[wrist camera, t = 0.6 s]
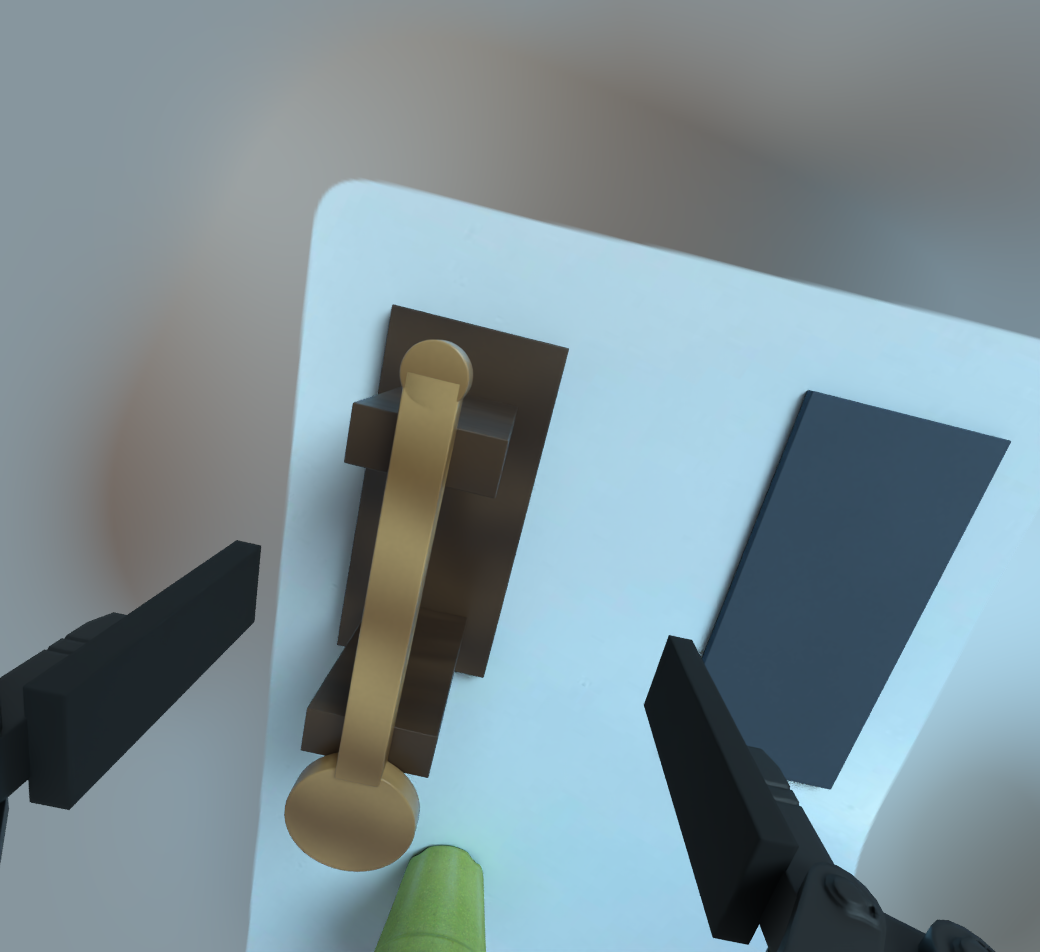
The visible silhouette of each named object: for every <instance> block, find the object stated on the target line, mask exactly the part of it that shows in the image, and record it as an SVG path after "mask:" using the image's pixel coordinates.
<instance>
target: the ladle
mask: <svg viewBox="0 0 1040 952" xmlns="http://www.w3.org/2000/svg"><path fill="white" fill-rule="evenodd" d="M472 381H473V368H472V364H471V362H470V359H469V358H468V356H467V354H466V353H465V352H464V351H463V350H462V349H461V348H460V347H459V346H457V345H456V344H454V343H452V342H449V341H446V340H425V341H422V342H419V343H417V344H415V345H414V346H413V347H411V348H410V349H409V350H408V351H407V353H406V354H405V356H404V357H403V360H402V362H401V366H400V382H401V385H402V388H403V389H402V394H401V400H400V406H399V411H398V417H397V423H396V428H395V434H394V440H393V445H392V451H391V457H390V463H389V468H388V474H387V480H386V485H385V491H384V497H383V502H382V508H381V514H380V519H379V525H378V531H377V537H376V542H375V548H374V554H373V559H372V565H371V571H370V576H369V582H368V588H367V593H366V599H365V605H364V611H363V616H362V622H361V628H360V633H359V639H358V645H357V650H356V656H355V662H354V667H353V673H352V679H351V684H350V690H349V696H348V702H347V707H346V713H345V719H344V724H343V730H342V736H341V741H340V747H339V753H333V754H329V755H326V756H324V757H321V758H319V759H317V760H316V761H314V762H312V763H311V764H310V765H309V766H307V767H306V768H305V769H304V770H303V772H302V773H301V774H300V776H299V777H298V779H297V781H296V783H295V784H294V786H293V788H292V790H291V792H290V794H289V796H288V798H287V800H286V805H285V814H284V816H285V823H286V827H287V829H288V832H289V834H290V836H291V837H292V839H293V841H294V842H295V843H296V844H297V846H298V847H299V848H300V849H301V850H302V851H303V852H304V853H306V854H307V855H308V856H310V857H311V858H313V859H314V860H316V861H318V862H320V863H322V864H324V865H326V866H329V867H332V868H335V869H339V870H345V871H355V872H360V871H371V870H376V869H379V868H382V867H385V866H388V865H389V864H391V863H393V862H395V861H396V860H397V859H399V858H400V857H401V856H402V855H403V854H404V853H405V852H406V851H407V849H408V848H409V847H410V845H411V843H412V841H413V838H414V835H415V831H416V827H417V823H418V818H419V812H420V804H419V799H418V795H417V792H416V790H415V788H414V786H413V784H412V783H411V781H410V780H409V778H408V777H407V776H406V775H405V774H404V773H403V772H402V771H401V770H400V769H398V768H397V767H396V766H394V765H393V764H391V763H390V762H388V761H387V760H388V755H389V750H390V746H391V741H392V736H393V731H394V727H395V722H396V717H397V712H398V707H399V703H400V698H401V693H402V688H403V684H404V679H405V674H406V669H407V664H408V660H409V655H410V650H411V645H412V641H413V636H414V631H415V626H416V622H417V617H418V612H419V607H420V602H421V598H422V593H423V588H424V583H425V579H426V574H427V569H428V564H429V560H430V555H431V550H432V545H433V540H434V536H435V531H436V526H437V521H438V517H439V512H440V507H441V502H442V497H443V493H444V488H445V483H446V478H447V474H448V469H449V464H450V459H451V455H452V450H453V445H454V440H455V435H456V431H457V426H458V421H459V416H460V412H461V407H462V402H463V398H464V397H465V396H466V395H467V393H468V392H469V390H470V388H471V385H472Z"/></svg>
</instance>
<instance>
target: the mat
mask: <svg viewBox="0 0 1040 952" xmlns="http://www.w3.org/2000/svg"><path fill="white" fill-rule="evenodd" d="M1010 443H1011V441H1009V440H1005V439H1001V438H997V437H993V436H989V435H985V434H982V433H978V432H974V431H970V430H966V429H962V428H958V427H954V426H950V425H946V424H942V423H938V422H934V421H930V420H926V419H922V418H918V417H914V416H910V415H906V414H902V413H898V412H894V411H890V410H886V409H882V408H879V407H875V406H871V405H867V404H863V403H859V402H855V401H851V400H847V399H843V398H839V397H835V396H831V395H827V394H823V393H819V392H815V391H810V390H808V391H807V393H806V396H805V399H804V401H803V404H802V406H801V409H800V411H799V414H798V416H797V419H796V421H795V424H794V426H793V429H792V431H791V434H790V437H789V439H788V442H787V444H786V447H785V449H784V452H783V454H782V457H781V459H780V462H779V464H778V467H777V470H776V472H775V475H774V477H773V480H772V482H771V485H770V487H769V490H768V492H767V495H766V497H765V500H764V502H763V505H762V508H761V510H760V513H759V515H758V518H757V520H756V523H755V525H754V528H753V530H752V533H751V535H750V538H749V540H748V543H747V546H746V548H745V551H744V553H743V556H742V558H741V561H740V563H739V566H738V568H737V571H736V573H735V576H734V578H733V581H732V584H731V586H730V589H729V591H728V594H727V596H726V599H725V601H724V604H723V606H722V609H721V611H720V614H719V616H718V619H717V622H716V624H715V627H714V629H713V632H712V634H711V637H710V639H709V642H708V644H707V647H706V649H705V652H704V655H703V657H702V660H703V662H704V664H705V666H706V668H707V670H708V672H709V674H710V676H711V678H712V680H713V681H714V683H715V685H716V687H717V689H718V691H719V693H720V695H721V697H722V699H723V701H724V703H725V705H726V706H727V708H728V710H729V712H730V714H731V716H732V718H733V720H734V722H735V724H736V726H737V728H738V730H739V732H740V733H741V735H742V737H743V739H744V741H745V743H746V745H747V746H751V747H756V748H761V749H763V750H764V752H765V753H766V754H767V755H768V756H769V757H770V758H771V759H772V760H773V761H774V762H775V763H776V764H777V765H778V767H779V768H780V770H781V771H782V773H783V775H784V777H785V778H786V780H790V781H794V782H799V783H803V784H808V785H812V786H817V787H821V788H826V789H831V788H832V786H833V784H834V782H835V780H836V778H837V776H838V775H839V773H840V771H841V769H842V767H843V765H844V763H845V761H846V759H847V757H848V755H849V753H850V751H851V749H852V748H853V746H854V744H855V742H856V740H857V738H858V736H859V734H860V732H861V730H862V728H863V726H864V724H865V723H866V721H867V719H868V717H869V715H870V713H871V711H872V709H873V707H874V705H875V703H876V701H877V699H878V697H879V696H880V694H881V692H882V690H883V688H884V686H885V684H886V682H887V680H888V678H889V676H890V674H891V672H892V670H893V669H894V667H895V665H896V663H897V661H898V659H899V657H900V655H901V653H902V651H903V649H904V647H905V645H906V643H907V642H908V640H909V638H910V636H911V634H912V632H913V630H914V628H915V626H916V624H917V622H918V620H919V618H920V616H921V615H922V613H923V611H924V609H925V607H926V605H927V603H928V601H929V599H930V597H931V595H932V593H933V591H934V589H935V588H936V586H937V584H938V582H939V580H940V578H941V576H942V574H943V572H944V570H945V568H946V566H947V564H948V563H949V561H950V559H951V557H952V555H953V553H954V551H955V549H956V547H957V545H958V543H959V541H960V539H961V537H962V536H963V534H964V532H965V530H966V528H967V526H968V524H969V522H970V520H971V518H972V516H973V514H974V512H975V510H976V509H977V507H978V505H979V503H980V501H981V499H982V497H983V495H984V493H985V491H986V489H987V487H988V485H989V483H990V482H991V480H992V478H993V476H994V474H995V472H996V470H997V468H998V466H999V464H1000V462H1001V460H1002V458H1003V456H1004V455H1005V453H1006V451H1007V449H1008V447H1009V445H1010Z"/></svg>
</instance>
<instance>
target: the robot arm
mask: <svg viewBox="0 0 1040 952" xmlns="http://www.w3.org/2000/svg"><path fill="white" fill-rule="evenodd" d="M260 552H261V546H260V545H255V544H251V543H247V542H242V541H238V540H237V541H235V542H233V543H232V544H230V545H229V546H228V547H226V548H225V549H224V550H222V551H220V552H219V553H217V554H216V555H214V556H213V557H212V558H210V559H209V560H207V561H206V562H204V563H203V564H201V565H200V566H198V567H197V568H195V569H194V570H192V571H191V572H190V573H188V574H187V575H185V576H184V577H182V578H181V579H179V580H178V581H176V582H175V583H173V584H172V585H170V586H169V587H168V588H166V589H165V590H163V591H162V592H160V593H159V594H157V595H156V596H154V597H153V598H152V599H150V600H148V601H147V602H146V603H144V604H143V605H141V606H140V607H138V608H137V609H135V610H134V611H132V612H131V613H129V614H128V615H124V614H119V613H114V612H113V613H111V614H108V615H105V616H103V617H100V618H97V619H95V620H92V621H89V622H87V623H85V624H84V625H82V626H80V627H79V628H78V629H76V630H74V631H73V632H71V633H70V634H68V635H67V636H66V637H65V639H63V638H62V639H60V640H59V641H57V642H56V643H54V644H52V645H51V646H49V648H48V649H47V650H43V651H42V652H40V653H38V654H37V655H35V656H33V657H32V658H30V659H29V660H27V661H26V662H24V663H23V664H21V665H19V666H18V667H16V668H15V669H13V670H12V671H10V672H9V673H7V674H5V675H4V676H2V677H1V678H0V862H1V855H2V849H3V843H4V836H5V830H6V823H7V817H8V811H9V806H8V797H9V796H10V795H11V794H12V793H13V792H14V791H15V790H17V789H18V788H19V787H20V786H21V785H22V784H23V783H24V782H26V781H27V780H28V781H29V798H30V802H31V803H36V804H42V805H47V806H52V807H57V808H62V809H67V810H70V809H71V808H72V807H73V806H74V804H76V803H77V801H78V800H79V799H80V798H81V797H82V796H83V795H84V794H85V793H86V792H87V791H88V790H89V789H90V788H91V787H92V786H93V785H94V784H95V783H96V782H97V781H98V780H99V779H100V778H101V777H102V776H103V775H104V774H105V773H106V772H107V771H108V770H109V769H110V768H111V767H112V766H113V765H114V764H115V763H116V762H117V761H118V760H119V759H120V758H121V757H122V756H123V755H124V754H125V753H126V752H127V750H128V749H130V748H131V747H132V746H133V745H134V744H135V743H136V741H138V739H139V738H140V737H141V736H142V735H143V734H144V733H145V732H146V731H147V730H148V729H149V728H150V727H151V726H152V725H153V724H154V723H155V722H156V721H157V720H158V719H159V718H160V717H161V716H162V715H163V714H164V713H165V712H166V711H167V710H168V709H169V708H170V707H171V706H172V705H173V704H174V703H175V702H176V701H177V700H178V699H179V698H180V697H181V696H182V694H184V693H185V692H186V691H187V690H188V689H189V688H190V687H191V686H192V684H193V683H194V682H196V681H197V679H198V678H199V677H200V676H201V675H202V674H203V673H204V672H205V671H206V670H207V669H208V668H209V667H210V666H211V665H212V664H213V663H214V662H215V661H216V660H217V659H218V658H219V657H220V656H221V655H222V654H223V653H224V652H225V651H226V650H227V649H228V648H229V647H230V646H231V645H232V644H233V643H234V642H235V641H236V640H237V639H238V638H239V637H240V636H241V635H242V634H243V633H244V632H245V631H246V630H247V629H248V628H249V627H250V626H251V625H252V624H253V623H254V620H255V609H256V596H257V587H258V575H259V564H260ZM644 707H645V711H646V714H647V717H648V721H649V724H650V727H651V731H652V734H653V738H654V741H655V744H656V748H657V751H658V754H659V758H660V761H661V765H662V768H663V771H664V775H665V778H666V781H667V785H668V788H669V792H670V795H671V798H672V802H673V805H674V808H675V812H676V815H677V819H678V822H679V825H680V829H681V832H682V835H683V839H684V842H685V846H686V849H687V852H688V856H689V859H690V862H691V866H692V869H693V873H694V876H695V879H696V883H697V886H698V889H699V893H700V896H701V900H702V903H703V906H704V910H705V913H706V916H707V920H708V923H709V927H710V930H711V933H712V937H713V938H717V939H722V940H727V941H732V942H737V943H742V944H747V945H749V943H750V941H751V939H752V937H753V935H754V933H755V931H756V929H757V928H758V926H759V924H760V927H761V930H762V932H763V935H764V937H765V940H766V943H767V945H768V948H767V950H766V952H995V951H994V950H993V949H992V948H991V947H990V946H988V945H987V944H986V943H985V942H984V941H983V940H982V939H981V938H979V937H978V936H976V935H975V934H973V933H972V932H970V931H969V930H968V929H966V928H965V927H963V926H960V925H958V924H955V923H954V922H951V921H949V920H936V921H935V922H934V923H933V924H932V925H931V927H930V928H929V930H928V931H927V933H926V934H925V933H923V932H921V931H919V930H917V929H915V928H913V927H911V926H909V925H907V924H905V923H903V922H901V921H899V920H897V919H895V918H893V917H891V916H889V915H887V914H886V913H884V912H883V911H882V909H881V907H880V906H879V904H878V902H877V900H876V899H875V898H874V896H873V895H872V894H871V893H870V892H869V890H868V889H867V888H866V887H865V886H864V885H863V884H862V883H861V882H860V881H859V880H857V879H856V878H855V877H854V876H853V875H852V874H850V873H849V872H847V871H845V870H844V869H842V868H840V867H839V866H837V865H834V863H833V861H832V860H831V858H830V856H829V854H828V852H827V851H826V849H825V847H824V845H823V844H822V842H821V840H820V838H819V837H818V835H817V833H816V831H815V830H814V828H813V826H812V824H811V823H810V821H809V819H808V817H807V815H806V814H805V812H804V810H803V808H802V807H801V806H799V801H798V800H797V798H796V796H795V794H794V793H793V791H792V790H790V786H789V784H788V782H787V780H786V778H785V777H784V775H783V773H782V771H781V770H780V768H779V767H778V765H777V764H776V763H775V762H774V761H773V760H772V759H771V758H770V757H769V756H768V755H767V754H766V753H765V752H764V750H763V749H761V748H756V747H751V746H747V745H746V743H745V741H744V739H743V737H742V735H741V733H740V732H739V730H738V728H737V726H736V724H735V722H734V720H733V718H732V716H731V714H730V712H729V710H728V708H727V706H726V705H725V703H724V701H723V699H722V697H721V695H720V693H719V691H718V689H717V687H716V685H715V683H714V681H713V680H712V678H711V676H710V674H709V672H708V670H707V668H706V666H705V664H704V662H703V660H702V658H701V656H700V654H699V653H698V651H697V649H696V647H695V645H694V643H693V641H692V640H689V639H685V638H680V637H675V636H671V635H669V636H668V639H667V642H666V645H665V648H664V650H663V653H662V656H661V659H660V662H659V664H658V667H657V670H656V673H655V675H654V678H653V681H652V684H651V687H650V689H649V692H648V695H647V698H646V700H645V703H644Z"/></svg>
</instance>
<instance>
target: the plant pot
mask: <svg viewBox="0 0 1040 952" xmlns="http://www.w3.org/2000/svg"><path fill="white" fill-rule="evenodd" d="M374 952H486V943H485V915H484V884H483V872H482V868H481V866H480V865H479V864H477V863H475V862H474V860H473V859H472V858H471V857H470V855H469V854H468V853H467V852H466V851H464V850H462V849H459V848H456V847H453V846H442V845H440V846H432V847H429V848H427V849H426V850H425V851H423V852H422V853H421V854H419V855H417V856H414V857H412V859H411V860H410V862H409V863H408V866H407V868H406V871H405V874H404V876H403V879H402V881H401V884H400V887H399V889H398V892H397V895H396V898H395V900H394V903H393V905H392V908H391V911H390V913H389V916H388V918H387V921H386V923H385V926H384V928H383V931H382V933H381V936H380V938H379V941H378V943H377V946H376V948H375V951H374Z"/></svg>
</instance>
